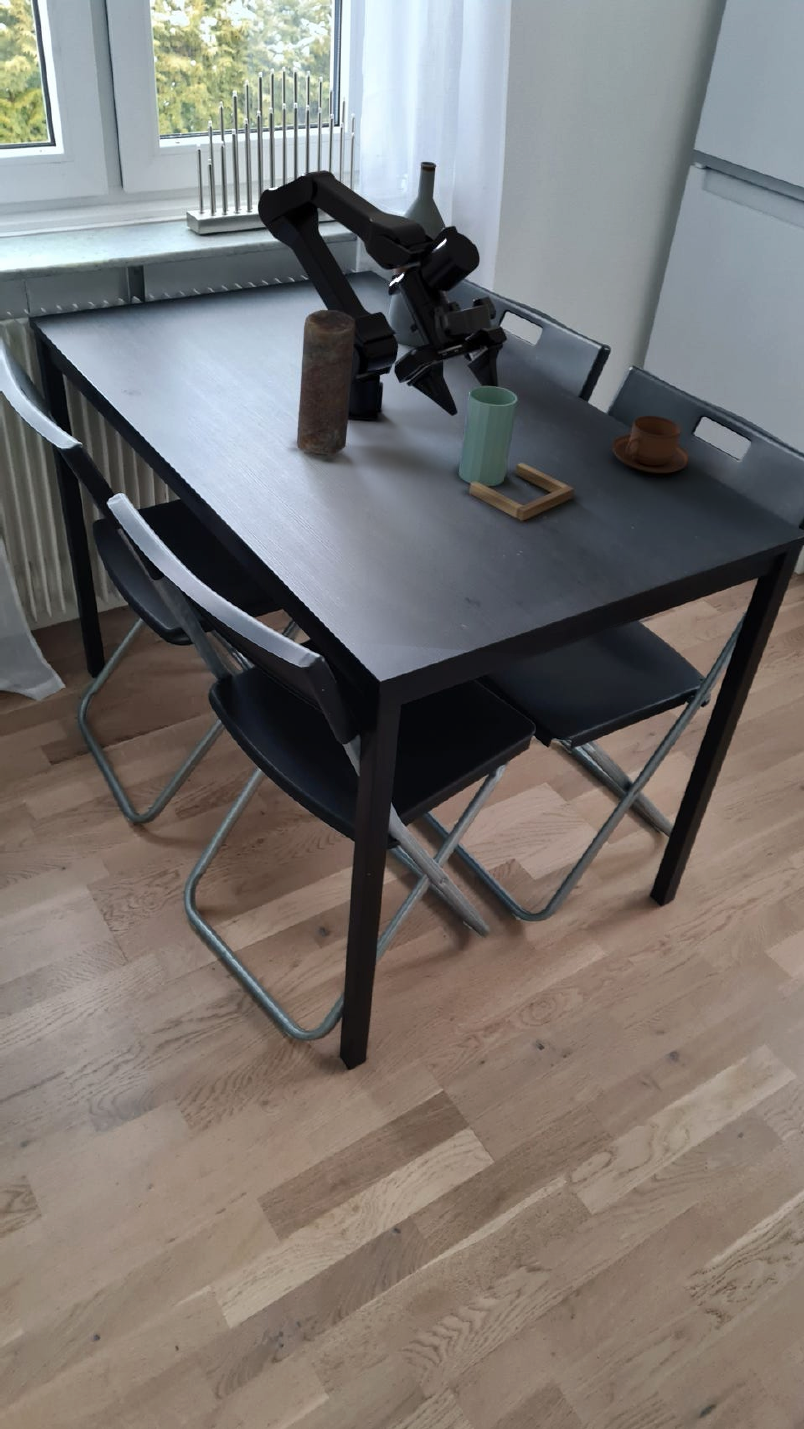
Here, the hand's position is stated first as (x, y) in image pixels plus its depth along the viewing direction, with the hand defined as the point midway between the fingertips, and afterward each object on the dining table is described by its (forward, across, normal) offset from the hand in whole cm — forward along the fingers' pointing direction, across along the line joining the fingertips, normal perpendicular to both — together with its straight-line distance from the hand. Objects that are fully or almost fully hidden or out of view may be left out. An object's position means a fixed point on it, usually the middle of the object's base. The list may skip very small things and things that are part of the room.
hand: (476, 407), depth 161 cm
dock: (+14, 0, 0) cm, 14 cm away
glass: (+9, 0, +5) cm, 10 cm away
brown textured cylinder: (-5, -14, +19) cm, 24 cm away
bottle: (-23, +31, +37) cm, 54 cm away
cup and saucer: (+18, +26, -4) cm, 31 cm away
